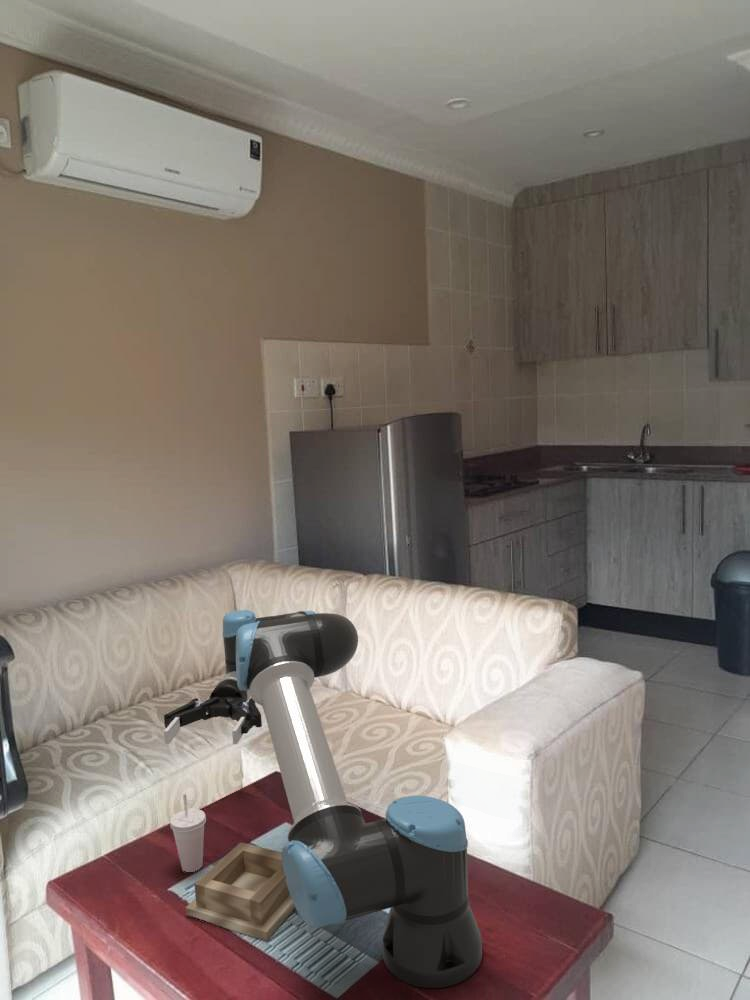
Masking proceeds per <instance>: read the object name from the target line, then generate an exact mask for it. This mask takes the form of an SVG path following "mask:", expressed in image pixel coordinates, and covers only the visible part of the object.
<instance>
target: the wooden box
mask: <svg viewBox="0 0 750 1000" xmlns="http://www.w3.org/2000/svg"><path fill="white" fill-rule="evenodd" d="M194 894H195V898H194V899H193V900H192V901H191V902H189V904H188V905H187V906H185V916H186V915H190V916H193V917H196V918H199V919H201V920H202V919H203V920H205V921H207V922H211V923H213V924H212V925H214V924H215V925H214V926H217V927H220V926H221V928H224V929H227V930H231V931H233V932H237V933H239V934H243V935H247V936H249V937H252V938H257V939H259V940H263V941H266V942H267V941H268V940H269V939H270V938H271V937H272V936H273V934H274V933H275V932H276V931H277V930H278V929H279V927H280V926H281V925H282V924H283V923H284V922H285V920H286V919H287V918H288V917H289V916H290V915H291V914H292V912H294V910H295V909H296V908H295V906H294V903H293V901H292V898H291V896H290V893H289V890H288V887H287V883H286V876H285V873H284V870H283V865H282V851H278V850H273V849H271V848H270V849H268V848H265V847H262V846H261V847H260V846H257V845H253V844H250V843H246V842H245V843H244V842H241V841H240V842H239V843H238V844H236V846H235V847H233V849H231V850H230V851H229V852H228V853H227V854H226V855H225V856H224V857H222V858H221V859H219V861H218V862H216V864H215V865H214V866H212V867H211V868H210V869H209V870H208V871H207V872H206V873H205V874H203V876H201V878H199V879H198V880H197V881H196V882H195V883H194ZM201 920H200V921H201ZM207 922H206V923H207ZM277 928H278V929H277Z"/></svg>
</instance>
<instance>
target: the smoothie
mask: <svg viewBox="0 0 750 1000" xmlns="http://www.w3.org/2000/svg"><path fill="white" fill-rule="evenodd" d="M182 797H183V798H182V799H183V810H180V811H177V812H176V813H175V814H173V816H172V817H171V818H170V820H169V821H170V829H171V830H172V832H173V835H174V836H173V837H174V840H175V845H176V849H177V852H178V853H177V854H178V858H179V863H180V867H181V870H182V872H184V871H186V872H193V873H196V872H198V871H200V870H201V869H202V868H201V867H203V862H204V861H203V859H204V858H203V857H204V841H205V839H204V838H205V836H204V835H205V824H206V821H207V817H206V813H205V812H204V811H203V810H201V809H198V808H188V801H187V799H188V798H187V793H183V794H182ZM200 868H201V869H200ZM199 869H200V870H199ZM197 870H198V871H197ZM195 871H196V872H195ZM186 872H185V873H186Z"/></svg>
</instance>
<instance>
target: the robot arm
mask: <svg viewBox="0 0 750 1000" xmlns="http://www.w3.org/2000/svg"><path fill="white" fill-rule="evenodd" d="M222 637H223V647H224V648H223V649H224V660H225V675H224V676H223V677H222V679H220V681H219V682H218V683H217V685H216V686H215V687H214V688H213V690H212V691H211V693H210V696H209V698H208V699H207V700H205V701H204V702H202V701H201V702H200V701H199V698H195V697H194V698H193V699H191V700H190V701H189V702H187V703H186V704H183V705H181V706H179V707H178V708H175V709H173V710H171V711H170V712H167V713H164V715H163V720H164V721H163V723H164V728H165V729H164V730H163V734H164V735H163V736H164V737H163V739H164V745H170V744H171V742H172V741H173V740H174V739H175V738H176V736H177V735H178V733H179V732H180V731H181V728H182V727H184V726H187V725H190V724H192V723H195V722H198V721H201V720H204V721H207V720H209V719H212V718H219V717H220V718H229V719H231V720H233V721H236V722H237V723H236V725H235V726H234V728H233V729H232V730H231V731H232V745H238V743H239V742H240V740H241V738H242V737H243V735H244V734H247V733H249V731H250V730H251V729H253V727H254V726H255V727H256V728H262V727H263V722H262V714H261V712H260V711H259V708H258V707H257V705H256V703H257V704H258V705H261V706H262V709H263V713H264V717H265V720H266V724H267V728H268V731H269V735H270V738H271V742H272V746H273V750H274V753H275V758H276V761H277V765H278V769H279V771H280V772H279V773H280V776H281V779H282V783H283V787H284V791H285V793H286V794H285V795H286V797H287V801H288V802H287V803H288V806H289V810H290V813H291V816H292V821H293V824H292V826H291V827H290V829H289V830H288V833H287V841H288V842H287V843H285V844H284V846H283V847H282V850H281V852H282V865H283V870H284V873H285V876H286V883H287V887H288V890H289V893H290V896H291V898H292V901H293V903H294V906H295V909H296V911H297V913H298V915H299V917H300V918H301V920H303V921H304V923H305V924H306V925H308V926H310V927H311V928H322V927H327V926H330V925H341V924H344V923H345V922H347V921H350V920H354V919H357V918H359V917H360V918H361V917H363V916H367V915H370V914H373V913H377V912H380V911H383V910H387V909H389V912H388V916H387V919H386V923H385V924H384V925H385V926H384V929H383V932H382V935H381V936H382V937H381V946H382V947H381V949H382V959H383V962H384V965H385V966H386V968H387V969H388V970H389V972H390V973H391V974H392V975H393V976H395V977H396V978H398V980H400V981H402V982H404V983H406V984H408V985H411V986H413V987H420V988H426V989H441V988H448V987H451V986H454V985H458V984H460V983H462V982H463V981H465V980H467V979H469V978H470V977H471V976H472V975H473V974H474V973H475V972H476V971H477V969H478V968H479V966H480V964H481V963H482V958H483V939H482V933H481V931H480V928H479V926H478V923H477V921H476V918H475V915H474V913H473V910H472V908H471V906H470V900H469V898H470V897H469V873H468V870H469V869H468V867H469V866H468V847H469V846H468V845H469V843H468V842H469V841H468V838H467V833H466V823H465V820H464V817H463V815H462V814H461V813H462V812H460V810H458V808H456V807H455V806H454V805H452V804H450V803H449V802H447V801H445V800H443V799H438V798H436V797H433V796H426V795H407V796H403V797H402V796H401V797H398V798H397V799H395V800H393V801H392V803H391V802H390V804H389V805H388V806H387V808H386V812H385V814H384V815H385V818H383V819H379V820H376V821H370V822H367V823H366V821H365V819H364V818H365V817H364V816H363V813H362V810H361V809H360V808H359V807H358V806H357V805H354V804H352V803H349V802H348V801H347V800H348V799H347V796H346V793H345V790H344V787H343V786H342V785H343V784H342V781H341V778H340V775H339V773H338V769H337V767H336V764H335V761H334V758H333V755H332V752H331V748H330V746H329V743H328V739H327V737H326V734H325V731H324V728H323V725H322V721H321V719H320V716H319V713H318V710H317V707H316V703H315V701H314V698H313V695H312V692H311V688H312V687H313V685H314V681H315V678H319V677H325V676H329V675H331V674H334V673H336V672H338V671H340V670H341V669H342V668H344V667H345V666H346V665H347V664H348V663H349V662H351V660H352V659H353V657H354V656H355V653H356V652H357V649H358V645H359V635H358V632H357V628H356V627H355V625H354V624H353V622H352V621H351V620H350V619H349V618H348V617H345V616H344V615H341V614H337V613H329V612H322V613H320V612H318V613H317V612H315V611H313V610H305V611H304V610H300V611H296V612H290V613H283V614H277V615H269V616H262V617H256V614H255V612H254V611H252V610H248V609H243V610H242V609H239V610H238V609H237V610H232V611H230V612H227V613H226V614H224V616H223V618H222Z"/></svg>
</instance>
